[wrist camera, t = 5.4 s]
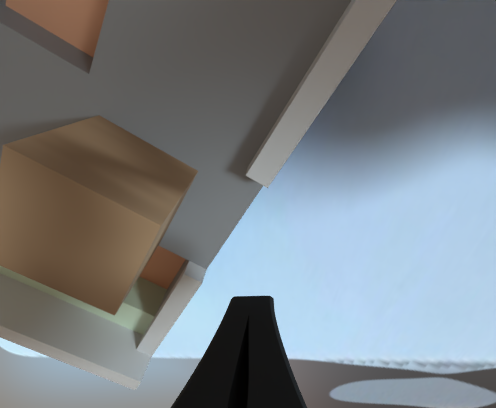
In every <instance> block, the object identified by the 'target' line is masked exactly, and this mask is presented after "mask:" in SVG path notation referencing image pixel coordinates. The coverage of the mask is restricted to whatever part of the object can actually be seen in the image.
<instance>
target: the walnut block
mask: <svg viewBox="0 0 496 408" xmlns="http://www.w3.org/2000/svg"><path fill="white" fill-rule="evenodd" d="M197 173H198V171H197V170H196V169H194V168H192V167H190V166H188V165H187V164H185V163H183V162H181V161H180V160H178V159H176V158H174V157H173V156H171V155H169V154H167V153H165V152H164V151H162V150H160V149H158V148H157V147H155V146H153V145H151V144H149V143H148V142H146V141H144V140H142V139H141V138H139V137H137V136H135V135H133V134H132V133H130V132H128V131H126V130H125V129H123V128H121V127H119V126H117V125H116V124H114V123H112V122H110V121H109V120H107V119H105V118H103V117H101V116H100V115H98V116H95V117H92V118H89V119H85V120H82V121H79V122H76V123H72V124H69V125H66V126H63V127H59V128H56V129H53V130H50V131H47V132H43V133H40V134H37V135H34V136H30V137H27V138H24V139H21V140H17V141H14V142H11V143H8V144H4V145H3V150H2V156H1V163H0V266H2V267H5V268H7V269H9V270H11V271H14V272H16V273H18V274H21V275H23V276H25V277H27V278H30V279H32V280H34V281H37V282H39V283H41V284H43V285H46V286H48V287H50V288H52V289H55V290H57V291H59V292H62V293H64V294H66V295H68V296H71V297H73V298H75V299H78V300H80V301H82V302H84V303H87V304H89V305H91V306H94V307H96V308H98V309H100V310H103V311H105V312H107V313H110V314H112V315H114V316H115V314H116V313H117V311H118V310H119V308H120V306H121V305H122V303H123V302H124V300H125V298H126V297H127V295H128V293H129V292H130V290H131V289H132V287H133V285H134V284H135V282H136V281H137V279H138V277H139V276H140V274H141V273H142V271H143V269H144V268H145V266H146V265H147V263H148V261H149V260H150V258H151V256H152V255H153V253H154V252H155V250H156V248H157V247H158V245H159V244H160V242H161V240H162V238H163V236H164V234H165V233H166V231H167V229H168V227H169V225H170V223H171V221H172V219H173V218H174V216H175V214H176V212H177V210H178V208H179V206H180V204H181V203H182V201H183V199H184V197H185V195H186V193H187V191H188V189H189V188H190V186H191V184H192V182H193V180H194V178H195V176H196V174H197Z"/></svg>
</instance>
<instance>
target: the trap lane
mask: <svg viewBox="0 0 496 408" xmlns="http://www.w3.org/2000/svg"><path fill="white" fill-rule="evenodd" d="M396 1H397V0H0V163H1V156H2V150H3V145H4V144H8V143H11V142H14V141H17V140H21V139H24V138H27V137H30V136H34V135H37V134H40V133H43V132H47V131H50V130H53V129H56V128H59V127H63V126H66V125H69V124H72V123H76V122H79V121H82V120H85V119H89V118H92V117H95V116H98V115H100V116H101V117H103V118H105V119H107V120H109V121H110V122H112V123H114V124H116V125H117V126H119V127H121V128H123V129H125V130H126V131H128V132H130V133H132V134H133V135H135V136H137V137H139V138H141V139H142V140H144V141H146V142H148V143H149V144H151V145H153V146H155V147H157V148H158V149H160V150H162V151H164V152H165V153H167V154H169V155H171V156H173V157H174V158H176V159H178V160H180V161H181V162H183V163H185V164H187V165H188V166H190V167H192V168H194V169H196V170H197V171H198V173H197V174H196V176H195V178H194V180H193V182H192V184H191V186H190V188H189V189H188V191H187V193H186V195H185V197H184V199H183V201H182V203H181V204H180V206H179V208H178V210H177V212H176V214H175V216H174V218H173V219H172V221H171V223H170V225H169V227H168V229H167V231H166V233H165V234H164V236H163V238H162V240H161V242H160V244H159V245H158V247H157V248H156V250H155V252H154V253H153V255H152V256H151V258H150V260H149V261H148V263H147V265H146V266H145V268H144V269H143V271H142V273H141V274H140V276H139V277H138V279H137V281H136V282H135V284H134V285H133V287H132V289H131V290H130V292H129V293H128V295H127V297H126V298H125V300H124V302H123V303H122V305H121V306H120V308H119V310H118V311H117V313H116V314H115V316H114V315H112V314H110V313H107V312H105V311H103V310H100V309H98V308H96V307H94V306H91V305H89V304H87V303H84V302H82V301H80V300H78V299H75V298H73V297H71V296H68V295H66V294H64V293H62V292H59V291H57V290H55V289H52V288H50V287H48V286H46V285H43V284H41V283H39V282H37V281H34V280H32V279H30V278H27V277H25V276H23V275H21V274H18V273H16V272H14V271H11V270H9V269H7V268H5V267H2V266H0V337H1V338H3V339H6V340H8V341H11V342H13V343H16V344H19V345H21V346H24V347H26V348H29V349H31V350H34V351H36V352H39V353H41V354H44V355H47V356H49V357H52V358H54V359H57V360H59V361H62V362H64V363H67V364H69V365H72V366H75V367H77V368H80V369H82V370H85V371H88V372H90V373H93V374H95V375H98V376H100V377H103V378H105V379H108V380H110V381H113V382H116V383H118V384H120V385H123V386H125V387H128V388H131V389H133V390H136V389H137V387H138V386H139V384H140V383H141V381H142V379H143V376H144V374H145V371H146V369H147V367H148V364H149V361H150V359H151V357H152V355H153V354H154V352H155V351H156V349H157V348H158V346H159V345H160V344H161V342H162V341H163V339H164V338H165V336H166V335H167V333H168V332H169V330H170V329H171V328H172V326H173V325H174V323H175V322H176V320H177V319H178V317H179V316H180V314H181V313H182V312H183V310H184V309H185V307H186V306H187V304H188V303H189V301H190V300H191V298H192V297H193V296H194V294H195V293H196V291H197V290H198V288H199V287H200V285H201V284H202V282H203V279H204V276H205V273H206V269H207V268H208V266H209V265H210V263H211V262H212V261H213V259H214V258H215V256H216V255H217V253H218V252H219V250H220V249H221V247H222V246H223V244H224V243H225V241H226V240H227V238H228V237H229V235H230V234H231V232H232V231H233V229H234V228H235V226H236V225H237V224H238V222H239V221H240V219H241V218H242V216H243V215H244V213H245V212H246V210H247V209H248V207H249V206H250V204H251V203H252V201H253V200H254V198H255V197H256V195H257V194H258V192H259V191H260V190H261V188H262V187H263V186H265V187H267V188H268V187H269V185H270V184H271V182H272V181H273V179H274V178H275V176H276V175H277V173H278V172H279V171H280V169H281V168H282V166H283V165H284V163H285V162H286V160H287V159H288V157H289V156H290V155H291V153H292V152H293V150H294V149H295V147H296V146H297V144H298V143H299V142H300V140H301V139H302V137H303V136H304V134H305V133H306V131H307V130H308V128H309V127H310V126H311V124H312V123H313V121H314V120H315V118H316V117H317V115H318V114H319V112H320V111H321V110H322V108H323V107H324V105H325V104H326V102H327V101H328V99H329V98H330V96H331V95H332V94H333V92H334V91H335V89H336V88H337V86H338V85H339V83H340V82H341V80H342V79H343V78H344V76H345V75H346V73H347V72H348V70H349V69H350V67H351V66H352V64H353V63H354V62H355V60H356V59H357V57H358V56H359V54H360V53H361V51H362V50H363V49H364V47H365V46H366V44H367V43H368V41H369V40H370V38H371V37H372V35H373V34H374V33H375V31H376V30H377V28H378V27H379V25H380V24H381V22H382V21H383V19H384V18H385V17H386V15H387V14H388V12H389V11H390V9H391V8H392V6H393V5H394V3H395V2H396Z"/></svg>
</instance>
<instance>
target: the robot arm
mask: <svg viewBox="0 0 496 408" xmlns="http://www.w3.org/2000/svg"><path fill="white" fill-rule="evenodd" d="M171 408H307V407H306V404H305V402H304V400H303V397H302V395H301V392H300V390H299V388H298V385H297V382H296V380H295V377H294V375H293V372H292V370H291V367H290V364H289V361H288V358H287V355H286V352H285V349H284V346H283V343H282V340H281V337H280V333H279V330H278V326H277V322H276V317H275V312H274V300H273V298H272V297H271V296H237V297H233V298H232V299H231V301H230V304H229V306H228V308H227V311H226V313H225V315H224V317H223V319H222V321H221V324H220V326H219V328H218V330H217V332H216V334H215V335H214V337H213V339H212V341H211V343H210V345H209V346H208V348H207V350H206V352H205V354H204V356H203V357H202V359H201V361H200V362H199V364H198V366H197V367H196V369H195V371H194V373H193V374H192V376H191V377H190V379H189V380H188V382H187V384H186V385H185V387H184V388H183V390H182V391H181V393H180V395H179V396H178V398H177V399H176V401H175V402H174V404H173V405H172V407H171Z"/></svg>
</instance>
